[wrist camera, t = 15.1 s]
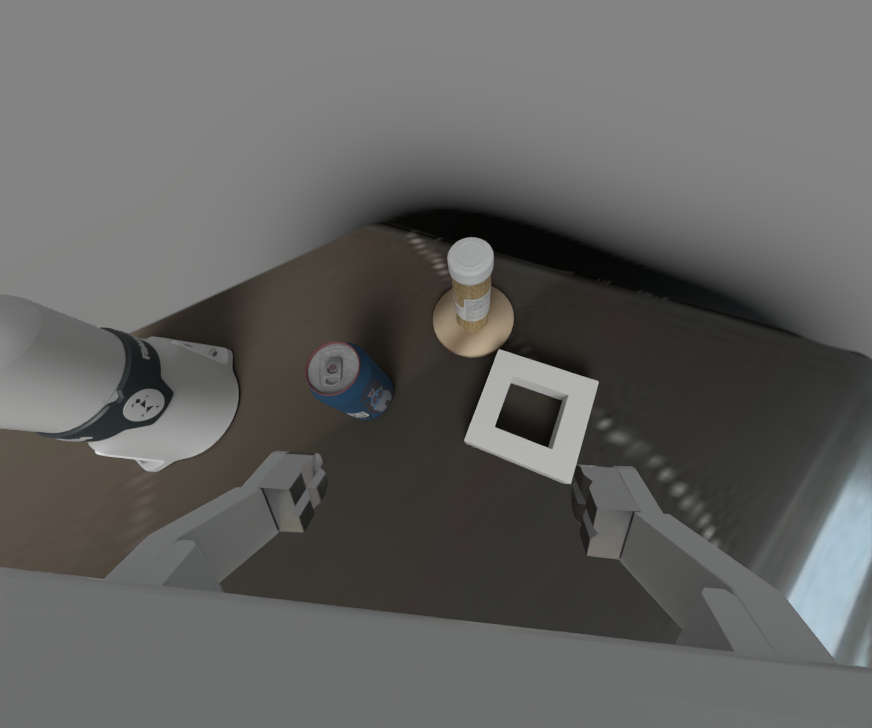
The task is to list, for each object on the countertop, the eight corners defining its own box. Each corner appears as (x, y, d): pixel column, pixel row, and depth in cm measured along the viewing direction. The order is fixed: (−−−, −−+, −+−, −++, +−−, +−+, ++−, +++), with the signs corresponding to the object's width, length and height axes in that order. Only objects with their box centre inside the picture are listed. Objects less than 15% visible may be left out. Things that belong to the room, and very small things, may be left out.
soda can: (347, 373, 44) (302, 339, 33) (395, 369, 43) (366, 332, 32) (345, 423, 42) (295, 404, 30) (396, 419, 41) (364, 398, 30)
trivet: (422, 342, 44) (420, 339, 43) (451, 279, 47) (450, 274, 46) (497, 368, 41) (497, 365, 40) (523, 299, 44) (524, 294, 43)
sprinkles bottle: (454, 307, 44) (443, 239, 31) (486, 301, 44) (489, 231, 31) (458, 336, 42) (450, 278, 30) (492, 330, 42) (498, 269, 29)
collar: (465, 442, 39) (464, 440, 36) (497, 357, 42) (498, 349, 39) (563, 483, 36) (570, 484, 33) (590, 388, 39) (598, 381, 36)
